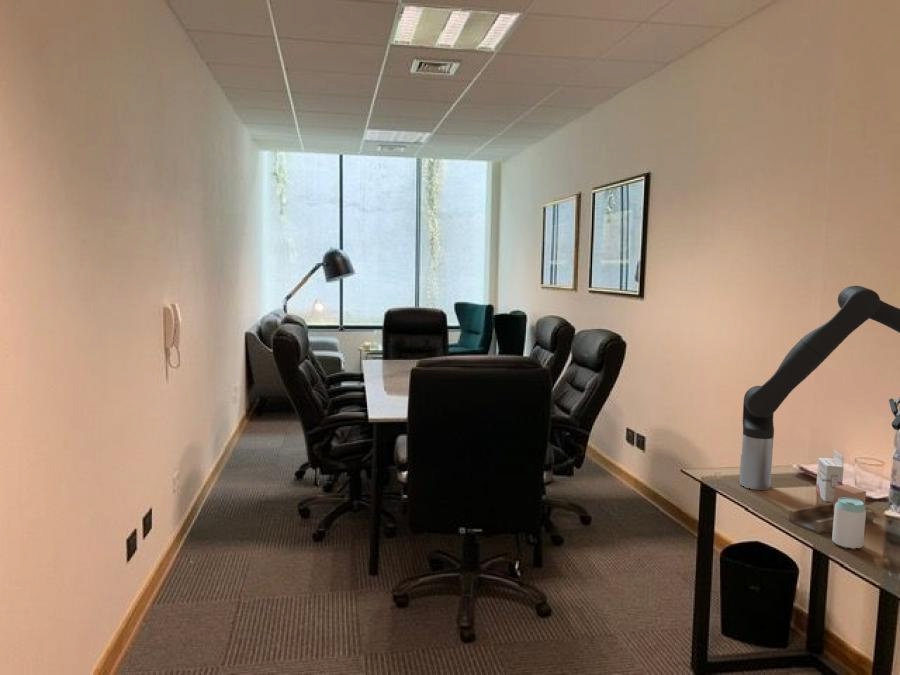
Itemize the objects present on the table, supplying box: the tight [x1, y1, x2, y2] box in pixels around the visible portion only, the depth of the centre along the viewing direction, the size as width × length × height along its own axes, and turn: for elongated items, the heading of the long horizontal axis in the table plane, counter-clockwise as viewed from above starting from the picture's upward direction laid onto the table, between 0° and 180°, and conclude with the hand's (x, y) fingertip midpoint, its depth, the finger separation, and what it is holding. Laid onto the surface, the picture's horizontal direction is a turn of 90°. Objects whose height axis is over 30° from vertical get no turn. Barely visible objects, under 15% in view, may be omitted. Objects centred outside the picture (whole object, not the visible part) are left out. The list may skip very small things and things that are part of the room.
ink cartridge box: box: [815, 449, 844, 503], centre depth 207 cm, size 9×5×15 cm, turn 168°
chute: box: [788, 502, 875, 535], centre depth 189 cm, size 22×9×3 cm, turn 112°
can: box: [831, 497, 867, 550], centre depth 173 cm, size 7×7×12 cm
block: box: [833, 484, 867, 513], centre depth 191 cm, size 5×6×8 cm
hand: (895, 428), depth 195 cm, fingers closed
